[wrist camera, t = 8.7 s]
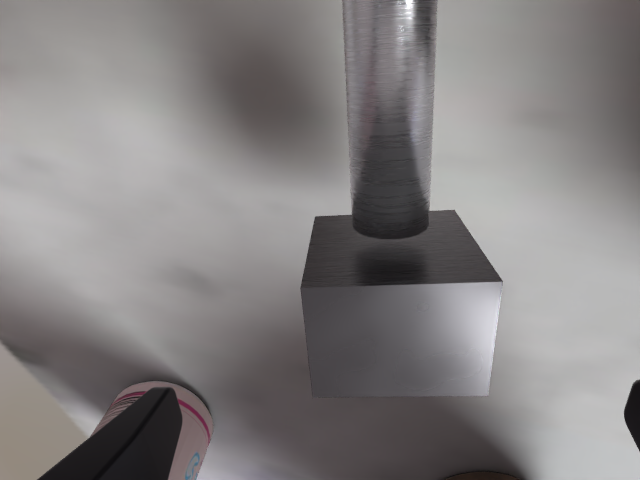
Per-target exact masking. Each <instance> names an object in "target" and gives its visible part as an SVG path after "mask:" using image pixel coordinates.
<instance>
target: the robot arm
mask: <svg viewBox="0 0 640 480" xmlns="http://www.w3.org/2000/svg"><path fill="white" fill-rule="evenodd" d="M624 418H625V422H626V425H627V427H628V429H629V431H630V433H631V435H632V437H633V439H634V441H635V443H636V445H637V447H638V449H639V451H640V380H637V381H635V382H634V383H633V385H632V388H631V391H630V394H629V397H628V400H627V403H626V406H625V410H624ZM182 423H183V417H182V412H181V409H180V406H179V402H178V399H177V396H176V392H175V390H174V389H173V388H172V387H153V388H151V389H150V390H148V391H147V392H146V393H144V394H143V395H142V396H141V397H139V398H138V399H137V400H136V401H134V402H133V403H132V404H131V405H129V406H128V407H127V408H126V409H125V410H123V411H122V412H121V413H120V414H118V415H117V416H116V417H115V418H113V419H112V420H111V421H110V422H108V423H107V424H106V425H105V426H103V427H102V428H101V429H100V430H98V431H97V432H96V433H95V434H93V435H92V436H91V437H90V438H88V439H87V440H86V441H85V442H83V443H82V444H81V445H80V446H78V447H77V448H76V449H75V450H73V451H72V452H71V453H70V454H69V455H67V456H66V457H65V458H63V459H62V460H61V461H60V462H59V463H57V464H56V465H55V466H54V467H52V468H51V469H50V470H49V471H47V472H46V473H45V474H44V475H43V476H41V477H40V478H39V479H37V480H168V478H169V474H170V470H171V466H172V463H173V459H174V455H175V451H176V447H177V444H178V440H179V436H180V432H181V428H182Z"/></svg>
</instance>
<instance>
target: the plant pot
mask: <svg viewBox="0 0 640 480" xmlns="http://www.w3.org/2000/svg"><path fill="white" fill-rule="evenodd" d="M445 480H520V479H518V478H515V477H512V476H510V475H506V474H502V473H495V472H472V473H465V474H459V475H456V476H453V477H449V478H447V479H445Z"/></svg>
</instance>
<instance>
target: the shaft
mask: <svg viewBox="0 0 640 480" xmlns="http://www.w3.org/2000/svg"><path fill="white" fill-rule="evenodd" d="M437 1H438V0H342V8H343V30H344V51H345V73H346V95H347V117H348V138H349V160H350V182H351V204H352V215H338V216H317V217H315V220H314V225H313V230H312V235H311V240H310V244H309V249H308V254H307V259H306V264H305V269H304V274H303V279H302V284H301V296H302V305H303V314H304V323H305V332H306V341H307V350H308V359H309V368H310V377H311V386H312V395H313V397H425V396H488V393H489V385H490V378H491V370H492V362H493V354H494V347H495V339H496V331H497V324H498V316H499V308H500V300H501V293H502V285H503V281H502V280H501V278H500V277H499V275H498V274H497V272H496V271H495V269H494V268H493V266H492V265H491V263H490V262H489V260H488V259H487V257H486V256H485V254H484V253H483V252H482V250H481V249H480V247H479V246H478V244H477V243H476V241H475V240H474V238H473V237H472V235H471V234H470V232H469V231H468V229H467V228H466V226H465V225H464V224H463V222H462V221H461V219H460V218H459V216H458V215H457V213H456V212H455V210H443V211H429V207H430V181H431V155H432V130H433V104H434V78H435V52H436V27H437Z"/></svg>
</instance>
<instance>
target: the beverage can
mask: <svg viewBox="0 0 640 480" xmlns="http://www.w3.org/2000/svg"><path fill="white" fill-rule="evenodd" d="M153 387H172V388H173V389H174V390H175V392H176V396H177V399H178V402H179V406H180V409H181V412H182V417H183V423H182V428H181V432H180V436H179V440H178V444H177V447H176V451H175V455H174V459H173V463H172V466H171V470H170V474H169V478H168V480H196V479H197V476H198V473H199V470H200V467H201V465H202V462H203V459H204V456H205V454H206V451H207V448H208V445H209V443H210V440H211V437H212V434H213V426H214V425H213V421H212V417H211V415H210V413H209V411H208V409H207V408H206V406H205V405H204V403H203V402H202V401H201V400H200V399H199V398H198V397H197V396H196V395H195V394H194V393H192V392H191V391H189V390H187V389H186V388H184V387H181V386H179V385H176V384H173V383H169V382H163V381H149V382H144V383H138V384H135V385H131V386H130V387H128V388H126V389H124V390H123V391H122V392H121V393H120V394H118V396H117V397H116V399H115V400H114V402H113V403H112V405H111V406H110V408H109V409H108V411H107V412H106V414H105V415H104V417H103V418H102V420H101V421H100V423H99V424H98V426H97V427H96V429H95V430H94V432H93V433H92V435H93V434H95V433H96V432H97V431H98V430H100V429H101V428H102V427H103V426H105V425H106V424H107V423H108V422H110V421H111V420H112V419H113V418H115V417H116V416H117V415H118V414H120V413H121V412H122V411H123V410H125V409H126V408H127V407H128V406H129V405H131V404H132V403H133V402H134V401H136V400H137V399H138V398H139V397H141V396H142V395H143V394H144V393H146V392H147V391H148V390H150V389H151V388H153ZM92 435H91V436H92ZM91 436H90V437H91Z"/></svg>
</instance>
